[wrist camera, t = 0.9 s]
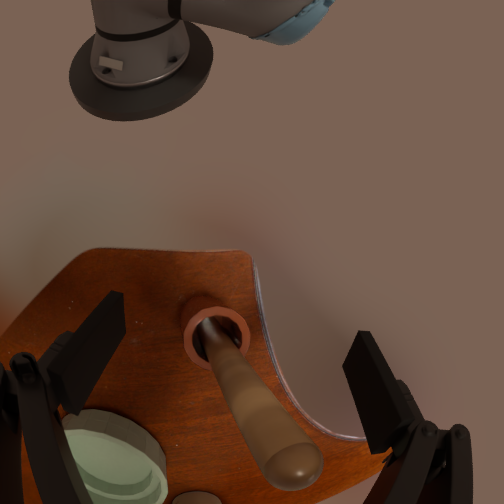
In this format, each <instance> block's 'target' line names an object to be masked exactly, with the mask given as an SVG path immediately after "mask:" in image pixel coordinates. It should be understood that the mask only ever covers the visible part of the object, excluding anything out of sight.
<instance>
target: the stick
mask: <svg viewBox="0 0 504 504" xmlns="http://www.w3.org/2000/svg"><path fill="white" fill-rule="evenodd" d="M196 330H197V332H198V335H199V337H200V340H201V343H202V345H203V348H204V350H205V353H206V355H207V357H208V360H209V362H210V365H211V367H212V370H213V372H214V374H215V377H216V379H217V381H218V384H219V386H220V388H221V390H222V393H223V395H224V397H225V399H226V401H227V404H228V406H229V408H230V410H231V412H232V414H233V417H234V419H235V421H236V423H237V425H238V427H239V429H240V431H241V433H242V435H243V437H244V439H245V441H246V443H247V445H248V447H249V449H250V451H251V453H252V455H253V457H254V459H255V461H256V462H257V464H258V466H259V468H260V470H261V472H262V474H263V475H264V477H265V478H266V480H267V481H268V482H269V483H270V484H271V485H273V486H274V487H276V488H279V489H281V490H287V491H294V490H300V489H303V488H306V487H308V486H310V485H311V484H312V483H314V482H315V481H316V480H317V479H318V477H319V476H320V474H321V472H322V469H323V464H324V459H323V455H322V452H321V451H320V449H319V448H318V447H317V445H316V444H315V443H314V442H313V441H312V440H311V439H310V437H309V436H308V435H307V434H306V433H305V432H304V431H303V429H302V428H301V427H300V426H299V425H298V424H297V422H296V421H295V420H294V419H293V418H292V417H291V415H290V414H289V413H288V412H287V411H286V409H285V408H284V407H283V406H282V404H281V403H280V402H279V401H278V400H277V398H276V397H275V396H274V395H273V393H272V392H271V391H270V390H269V388H268V387H267V386H266V385H265V383H264V382H263V381H262V380H261V378H260V377H259V376H258V374H257V373H256V372H255V371H254V369H253V368H252V367H251V365H250V364H249V363H248V361H247V360H246V359H245V357H244V356H243V355H242V353H241V352H240V351H239V349H238V348H237V347H236V345H235V344H234V343H233V341H232V340H231V339H230V337H229V336H228V334H227V333H226V332H225V330H224V329H223V327H222V326H221V325H220V323H219V322H218V320H217V319H216V318H215V316H211V317H207V318H205V319H204V320H203V321H201V322H200V323H199V324H198V325H197V326H196Z"/></svg>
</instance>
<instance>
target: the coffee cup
mask: <svg viewBox="0 0 504 504" xmlns="http://www.w3.org/2000/svg"><path fill="white" fill-rule="evenodd" d="M172 504H222V503H221V501H220V500H219V499H218V498H217V497H216V496H215V495H213V494H210V493H207V492H200V491H194V492H187V493H183V494H181V495H179V496H177V497H176V498H175V499H174V500H173V503H172Z"/></svg>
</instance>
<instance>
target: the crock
mask: <svg viewBox="0 0 504 504" xmlns="http://www.w3.org/2000/svg"><path fill="white" fill-rule="evenodd" d="M211 316H215V318H216V319H217V320H218V322H219V323H220V325H221V326H222V327H223V329H224V330H225V332H226V333H227V334H228V336H229V337H230V339H231V340H232V341H233V343H234V344H235V345H236V347H237V348H238V349H239V351H240V352H241V353H242V355H243V356H244V357H245V355H246V353H247V351H248V349H249V347H250V330H249V328H248V326H247V324H246V322H245V320H244V318H243V317H242V316H240V315H239V314H238V313H236V312H235V311H234V310H233V309H231V308H229V307H228V306H226V305H225V304H223V303H222V302H220V301H219V300H217V299H216V298H213V297H210V296H204V295H203V296H196V297H194V298H192V299H190V300H189V301H187V302H186V304H185V305H184V306H183V308H182V310H181V313H180V327H181V333H182V338H183V344H184V349H185V351H186V352H187V354H188V356H189V358H190V359H191V361H192V362H194V363H195V364H197V365H198V366H200V367H201V368H203V369H205V370H212V367H211V365H210V362H209V360H208V357H207V355H206V353H205V350H204V348H203V345H202V343H201V340H200V337H199V335H198V332H197V330H196V326H197V325H198V324H199V323H200V322H201V321H203V320H204V319H205V318H207V317H211ZM212 371H213V370H212Z"/></svg>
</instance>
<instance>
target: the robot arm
mask: <svg viewBox="0 0 504 504" xmlns="http://www.w3.org/2000/svg"><path fill="white" fill-rule="evenodd" d="M334 1H335V0H91V3H92V10H93V15H94V20H95V27H96V34H95V38H94V42H93V47H92V51H91V58H90V64H91V68H92V71H93V74H94V76H95V78H96V79H97V80H98V81H99V82H100V83H101V84H103V85H104V86H106V87H109V88H112V89H116V90H139V89H144V88H148V87H152V86H155V85H157V84H160V83H162V82H164V81H166V80H168V79H169V78H171V77H172V76H174V75H175V74H176V73H177V72H178V71H180V69H181V68H182V67H183V66H184V64H185V63H186V61H187V58H188V54H189V48H190V42H189V37H188V34H187V31H186V28H185V25H184V22H183V20H184V21H190V22H195V23H200V24H204V25H209V26H213V27H217V28H221V29H225V30H229V31H233V32H236V33H240V34H243V35H247V36H248V37H249V38H251V39H256V40H259V39H260V40H263V41H267V42H270V43H273V44H276V45H290V44H293V43H295V42H297V41H299V40H300V39H302V38H303V37H305V36H306V35H307V34H308V33H309V32H310V31H311V30H312V29H313V28H314V27H315V26H316V25H317V24H318V23H319V22H320V21H321V20H322V18H323V17H324V16H325V15H326V13H327V12H328V10H329V9H328V8H329V6H331V5H332V4H333V3H334ZM125 334H126V327H125V314H124V298H123V293H120V292H116V291H112V290H111V291H110V292H109V293H108V294H107V296H106V297H105V298H104V299H103V300H102V301H101V302H100V303H99V305H98V306H97V307H96V308H95V309H94V310H93V311H92V313H91V314H90V315H89V316H88V317H87V318H86V320H85V321H84V322H83V323H82V324H81V325H80V327H79V328H78V329H77V330H76V331H75V333H73V332H70V331H66V332H64V333H63V334H61V335H59V336H58V337H57V339H56V340H55V341H54V343H52V344H51V346H50V347H49V348H48V349H47V350H46V352H45V353H44V354H43V355H42V356H41V358H40V359H39V360H38V361H37V362H36V359H35V357H34V356H33V355H32V354H30V353H28V352H21V353H17V354H16V355H14V356H13V357H12V358H11V360H10V364H9V365H10V367H11V370H12V371H8V370H5V369H4V367H3V364H2V363H1V362H0V504H24V499H23V488H22V472H21V438H22V431H23V436H24V441H25V445H26V450H27V454H28V458H29V462H30V466H31V469H32V473H33V476H34V479H35V482H36V485H37V488H38V491H39V494H40V497H41V500H42V502H43V504H94V503H93V501H92V499H91V497H90V495H89V493H88V491H87V489H86V486H85V484H84V482H83V480H82V477H81V475H80V473H79V470H78V468H77V465H76V463H75V460H74V458H73V455H72V452H71V449H70V447H69V444H68V441H67V438H66V435H65V431H64V428H63V425H62V421H61V418H60V414H59V411H58V409H57V408H58V406H59V405H60V403H61V405H62V407H63V409H64V410H65V411H67V412H69V413H71V414H74V415H76V416H78V415H79V414H80V412H81V410H82V408H83V406H84V404H85V402H86V401H87V399H88V397H89V395H90V393H91V391H92V390H93V388H94V386H95V384H96V383H97V381H98V379H99V377H100V376H101V374H102V372H103V370H104V369H105V367H106V365H107V364H108V362H109V360H110V359H111V357H112V355H113V354H114V352H115V350H116V349H117V347H118V345H119V344H120V342H121V340H122V339H123V337H124V336H125ZM342 367H343V370H344V373H345V375H346V378H347V381H348V384H349V387H350V390H351V393H352V395H353V398H354V401H355V405H356V408H357V411H358V414H359V417H360V420H361V423H362V426H363V429H364V432H365V435H366V439H367V442H368V445H369V448H370V452H371V455H372V454H379V453H385V452H386V451H387V450H388V449H389V448H390V447H392V450H393V452H392V453H391V454H390V455H388V456H387V457H386V458H385V459H384V460H383V462H382V463H384V462H386V463H385V465H384V467H383V469H382V471H381V473H380V475H379V477H378V479H377V480H376V482H375V484H374V486H373V487H372V489H371V491H370V493H369V494H368V496H367V498H366V499H365V501H364V503H363V504H473V465H472V451H471V439H470V433H469V431H468V429H467V428H466V427H465V426H464V425H461V424H455V425H453V427H452V428H451V429H450V430H440V429H438V427H437V426H436V425H435V424H434V423H432V422H431V421H425V420H424V418H423V416H422V414H421V412H420V410H419V408H418V406H417V404H416V402H415V400H414V398H413V396H412V395H411V392H410V390H409V388H408V387H407V385H406V384H405V383H404V382H403V381H402V380H396V379H395V377H394V375H393V373H392V371H391V369H390V367H389V366H388V364H387V362H386V360H385V358H384V356H383V354H382V353H381V351H380V349H379V347H378V345H377V343H376V342H375V340H374V338H373V336H372V334H371V333H370V331H358V333H357V335H356V337H355V339H354V342H353V344H352V346H351V349H350V350H349V352H348V355H347V357H346V359H345V361H344V363H343V365H342ZM445 462H446V465H445Z"/></svg>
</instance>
